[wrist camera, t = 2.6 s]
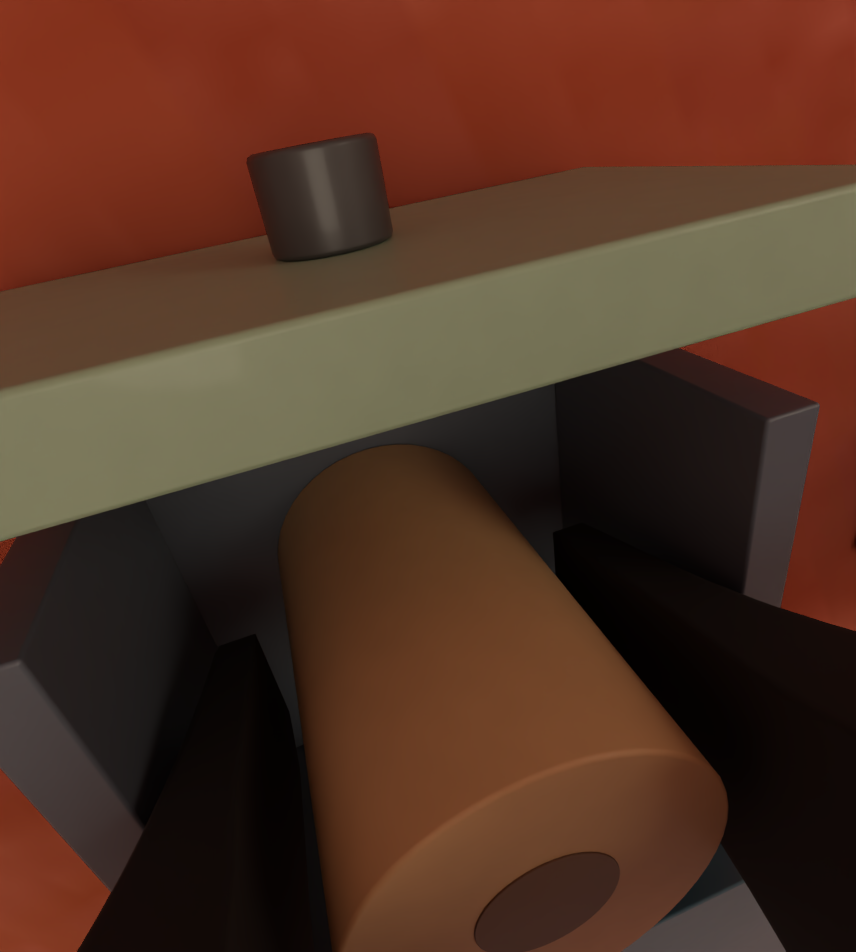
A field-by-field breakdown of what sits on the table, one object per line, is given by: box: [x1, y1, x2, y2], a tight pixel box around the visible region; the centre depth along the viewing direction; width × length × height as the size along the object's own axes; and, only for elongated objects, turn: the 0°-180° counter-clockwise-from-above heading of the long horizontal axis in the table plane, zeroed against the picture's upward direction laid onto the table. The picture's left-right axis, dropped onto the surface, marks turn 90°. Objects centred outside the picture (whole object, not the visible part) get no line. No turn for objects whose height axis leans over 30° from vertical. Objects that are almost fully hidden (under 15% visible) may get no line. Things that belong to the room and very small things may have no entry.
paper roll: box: [278, 444, 729, 952], centre depth 10 cm, size 5×5×8 cm
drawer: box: [0, 133, 856, 952], centre depth 11 cm, size 14×11×7 cm
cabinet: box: [621, 843, 786, 952], centre depth 17 cm, size 14×13×9 cm
